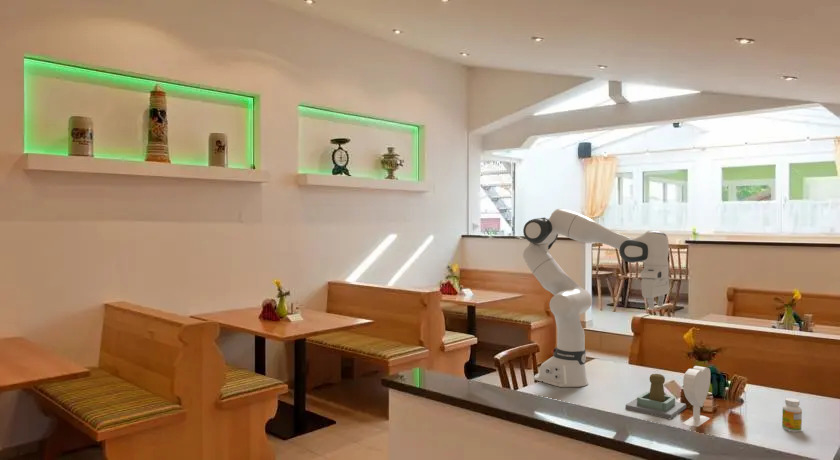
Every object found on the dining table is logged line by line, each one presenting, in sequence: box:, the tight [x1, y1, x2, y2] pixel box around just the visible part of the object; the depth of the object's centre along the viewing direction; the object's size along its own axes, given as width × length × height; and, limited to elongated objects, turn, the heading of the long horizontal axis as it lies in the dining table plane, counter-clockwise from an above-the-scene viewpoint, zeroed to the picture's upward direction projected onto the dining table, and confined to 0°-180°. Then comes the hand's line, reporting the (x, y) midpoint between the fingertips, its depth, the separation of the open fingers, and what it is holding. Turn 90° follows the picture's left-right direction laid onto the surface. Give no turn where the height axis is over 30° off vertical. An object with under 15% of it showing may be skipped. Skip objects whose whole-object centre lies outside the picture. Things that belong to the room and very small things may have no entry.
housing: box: [625, 391, 687, 420], centre depth 217 cm, size 16×16×4 cm
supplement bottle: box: [781, 397, 803, 432], centre depth 197 cm, size 5×5×10 cm
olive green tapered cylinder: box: [649, 373, 666, 402], centre depth 217 cm, size 6×6×11 cm
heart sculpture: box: [682, 365, 712, 428], centre depth 204 cm, size 16×5×18 cm, turn 136°
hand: (655, 307), depth 234 cm, fingers open, 8 cm apart
